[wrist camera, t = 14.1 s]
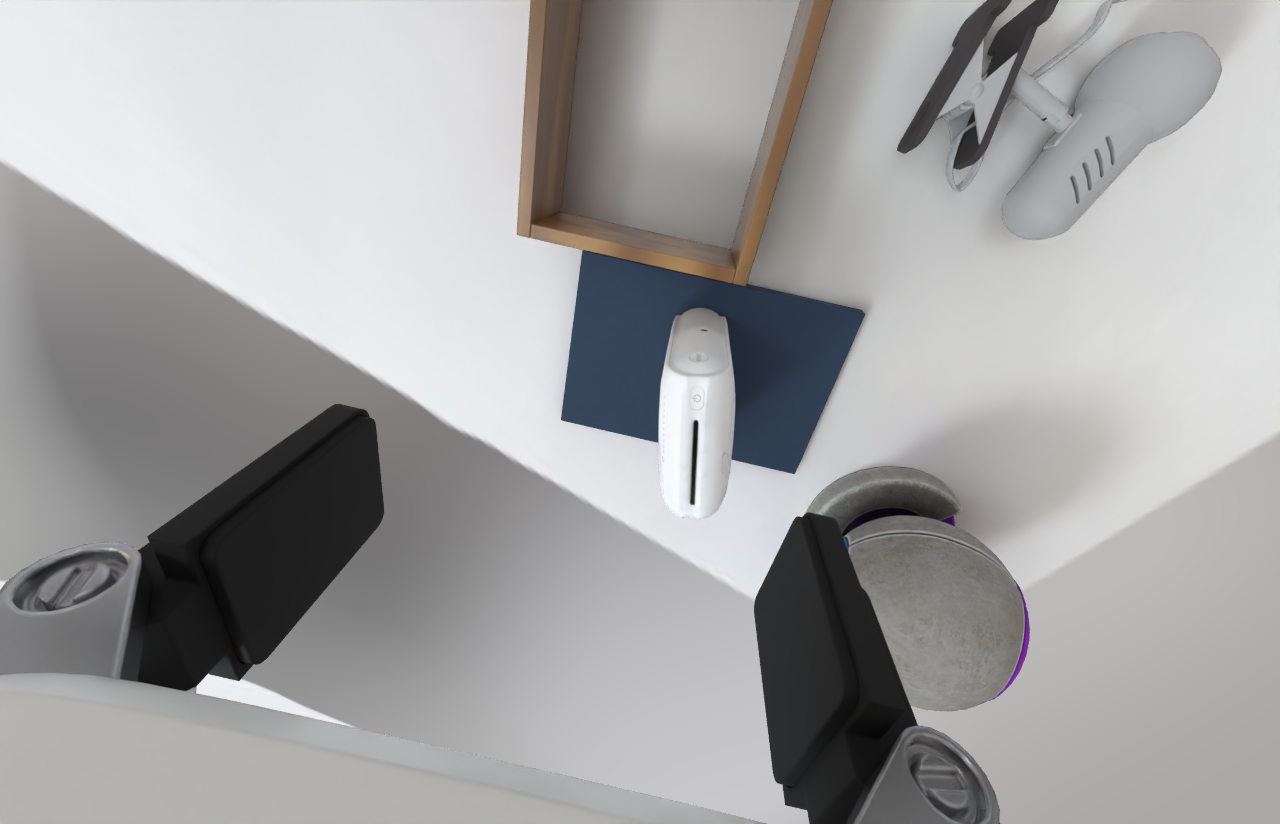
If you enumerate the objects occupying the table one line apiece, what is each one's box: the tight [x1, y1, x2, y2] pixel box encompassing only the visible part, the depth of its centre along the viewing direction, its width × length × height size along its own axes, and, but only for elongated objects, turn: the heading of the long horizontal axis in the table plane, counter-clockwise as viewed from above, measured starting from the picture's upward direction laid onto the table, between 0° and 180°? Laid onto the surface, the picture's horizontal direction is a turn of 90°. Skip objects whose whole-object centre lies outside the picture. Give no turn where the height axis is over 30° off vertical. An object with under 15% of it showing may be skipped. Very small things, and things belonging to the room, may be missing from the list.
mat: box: [561, 250, 865, 474], centre depth 36 cm, size 20×14×1 cm
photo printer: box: [659, 308, 735, 519], centre depth 31 cm, size 10×4×12 cm, turn 1°
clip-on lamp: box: [897, 0, 1222, 240], centre depth 23 cm, size 12×6×18 cm
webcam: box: [806, 467, 1030, 711], centre depth 36 cm, size 13×13×15 cm
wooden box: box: [517, 0, 833, 286], centre depth 26 cm, size 14×18×6 cm
